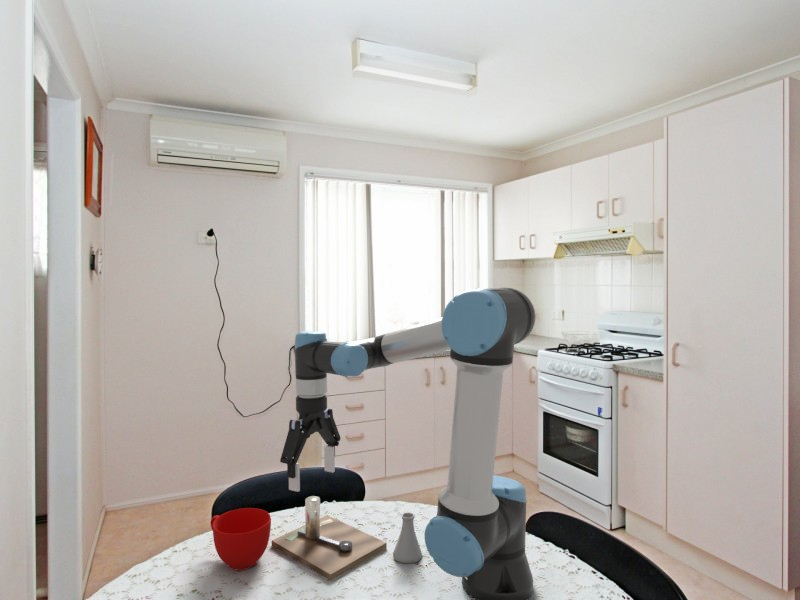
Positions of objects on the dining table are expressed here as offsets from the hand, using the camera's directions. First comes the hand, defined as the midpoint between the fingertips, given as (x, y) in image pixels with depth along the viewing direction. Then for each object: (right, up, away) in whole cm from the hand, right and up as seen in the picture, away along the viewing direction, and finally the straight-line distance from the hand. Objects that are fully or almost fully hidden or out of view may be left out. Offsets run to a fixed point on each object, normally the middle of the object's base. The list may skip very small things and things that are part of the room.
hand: (312, 480), depth 128 cm
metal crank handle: (+3, -15, -1) cm, 15 cm away
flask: (+23, -17, -4) cm, 29 cm away
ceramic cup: (-17, -17, -6) cm, 25 cm away
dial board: (+4, -17, 0) cm, 17 cm away
